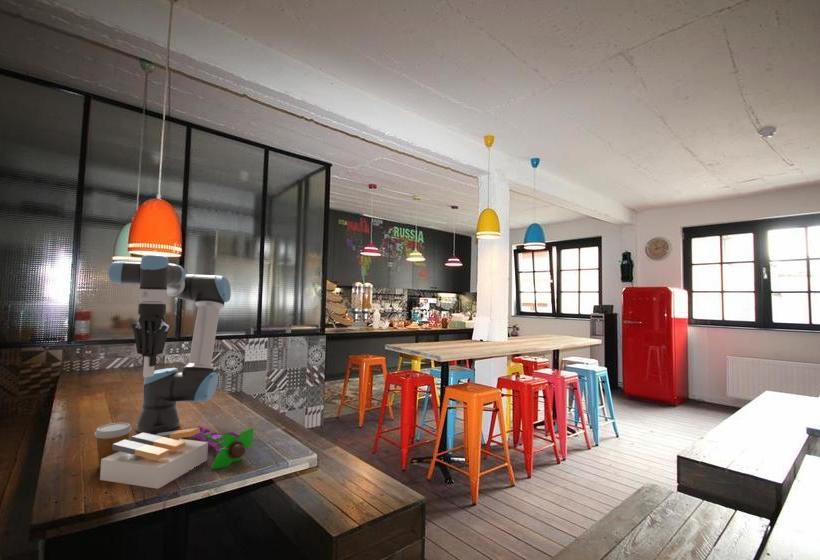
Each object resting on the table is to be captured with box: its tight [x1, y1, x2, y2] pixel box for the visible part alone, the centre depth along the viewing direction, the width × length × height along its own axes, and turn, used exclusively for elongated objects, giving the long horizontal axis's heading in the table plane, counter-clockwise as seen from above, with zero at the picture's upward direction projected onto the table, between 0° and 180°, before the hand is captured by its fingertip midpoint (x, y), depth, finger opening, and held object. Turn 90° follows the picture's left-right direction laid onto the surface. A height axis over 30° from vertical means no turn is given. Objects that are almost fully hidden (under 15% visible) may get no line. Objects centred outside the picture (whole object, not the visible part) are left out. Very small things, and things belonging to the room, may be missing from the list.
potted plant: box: [191, 425, 255, 470], centre depth 140 cm, size 12×16×35 cm
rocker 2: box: [154, 427, 200, 439], centre depth 132 cm, size 16×4×2 cm, turn 79°
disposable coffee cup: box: [94, 422, 133, 469], centre depth 127 cm, size 10×10×12 cm
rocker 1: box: [112, 439, 169, 460], centre depth 119 cm, size 16×4×2 cm, turn 79°
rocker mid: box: [130, 432, 185, 452], centre depth 125 cm, size 16×4×2 cm, turn 79°
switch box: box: [99, 438, 209, 489], centre depth 125 cm, size 20×20×8 cm
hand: (148, 376), depth 128 cm, fingers closed
